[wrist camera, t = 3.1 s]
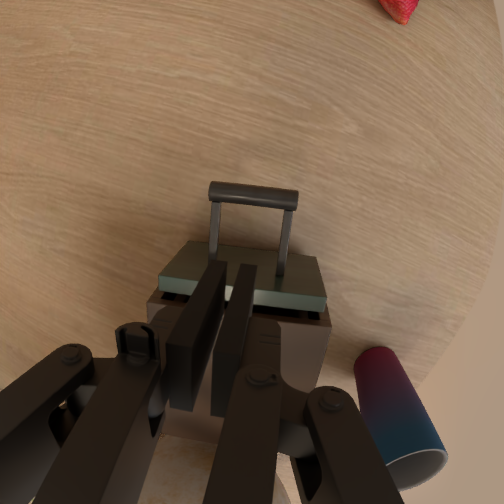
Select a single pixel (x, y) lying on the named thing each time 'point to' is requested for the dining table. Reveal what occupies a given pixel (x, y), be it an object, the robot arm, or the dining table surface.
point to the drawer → (251, 258)
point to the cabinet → (292, 370)
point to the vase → (185, 473)
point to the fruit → (399, 9)
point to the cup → (397, 419)
